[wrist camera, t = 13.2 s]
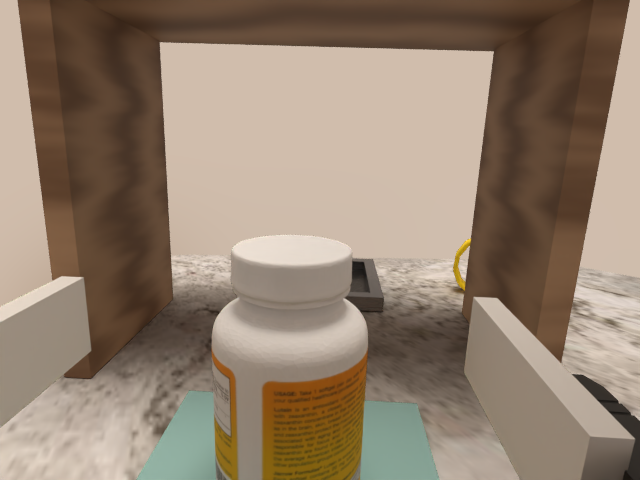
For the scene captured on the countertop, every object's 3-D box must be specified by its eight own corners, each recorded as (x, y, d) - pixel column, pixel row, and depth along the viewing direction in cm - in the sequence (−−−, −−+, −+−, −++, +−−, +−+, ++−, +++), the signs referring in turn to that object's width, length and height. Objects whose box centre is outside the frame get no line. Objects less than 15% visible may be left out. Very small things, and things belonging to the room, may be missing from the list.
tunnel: (557, 410, 22) (647, -53, 17) (58, 381, 23) (1, -65, 18) (478, 311, 35) (515, 28, 30) (157, 295, 36) (140, 19, 31)
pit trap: (382, 311, 34) (383, 297, 34) (248, 305, 34) (248, 291, 34) (372, 270, 45) (372, 259, 44) (269, 265, 45) (270, 254, 45)
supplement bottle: (376, 466, 17) (394, 240, 15) (323, 588, 13) (336, 284, 10) (266, 427, 20) (266, 224, 17) (184, 518, 15) (170, 254, 13)
